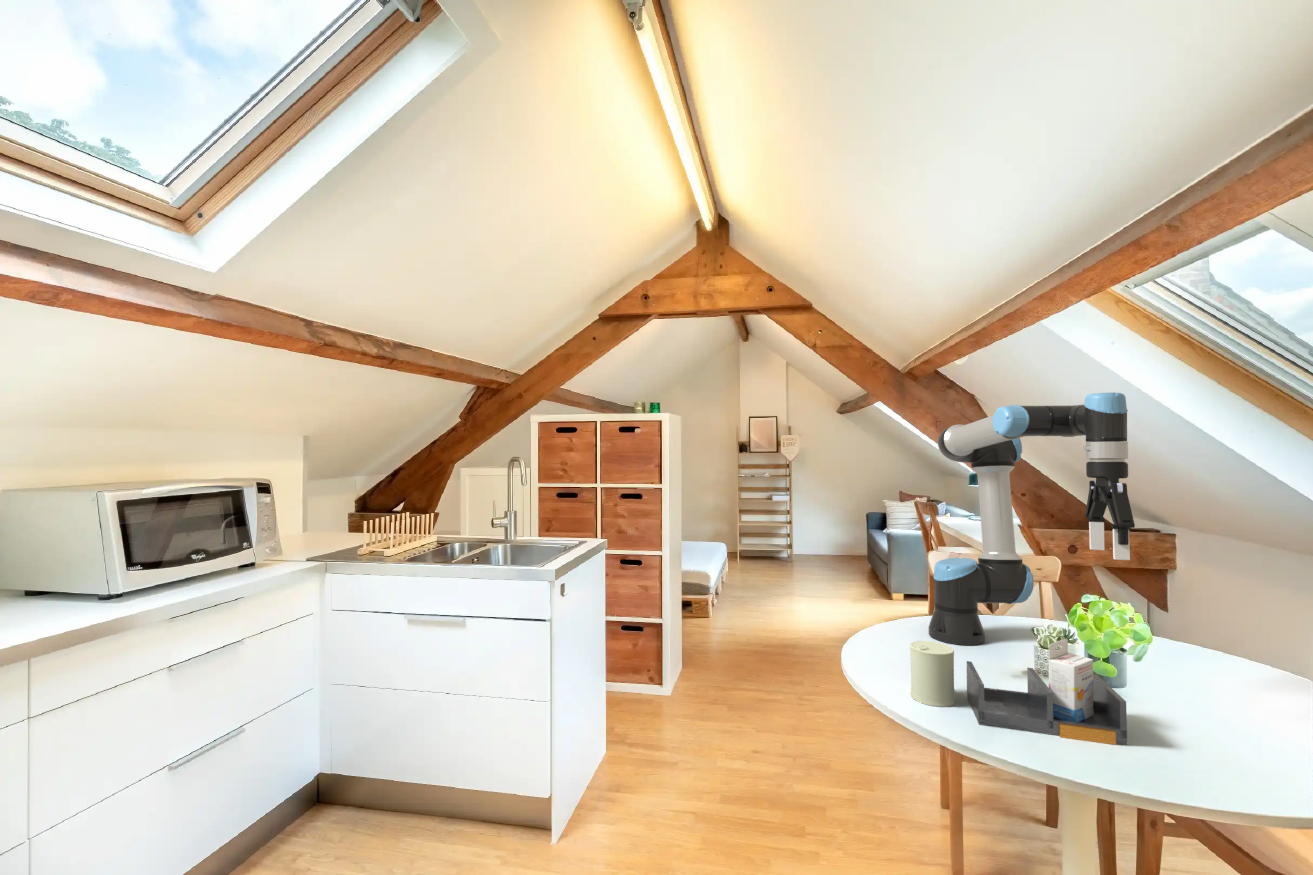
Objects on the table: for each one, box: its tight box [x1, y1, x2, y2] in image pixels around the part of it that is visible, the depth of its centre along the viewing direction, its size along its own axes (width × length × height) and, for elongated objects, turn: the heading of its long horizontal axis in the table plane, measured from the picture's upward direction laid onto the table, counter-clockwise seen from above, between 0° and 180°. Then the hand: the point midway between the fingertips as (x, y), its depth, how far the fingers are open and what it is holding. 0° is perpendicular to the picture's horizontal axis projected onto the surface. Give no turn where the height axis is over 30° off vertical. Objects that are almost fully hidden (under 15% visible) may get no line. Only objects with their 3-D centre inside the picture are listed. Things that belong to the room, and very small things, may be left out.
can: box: [909, 640, 956, 708], centre depth 131 cm, size 9×9×12 cm
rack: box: [966, 660, 1128, 746], centre depth 120 cm, size 15×25×8 cm, turn 71°
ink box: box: [1048, 638, 1094, 722], centre depth 120 cm, size 8×5×15 cm, turn 122°
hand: (1108, 554), depth 130 cm, fingers open, 13 cm apart
